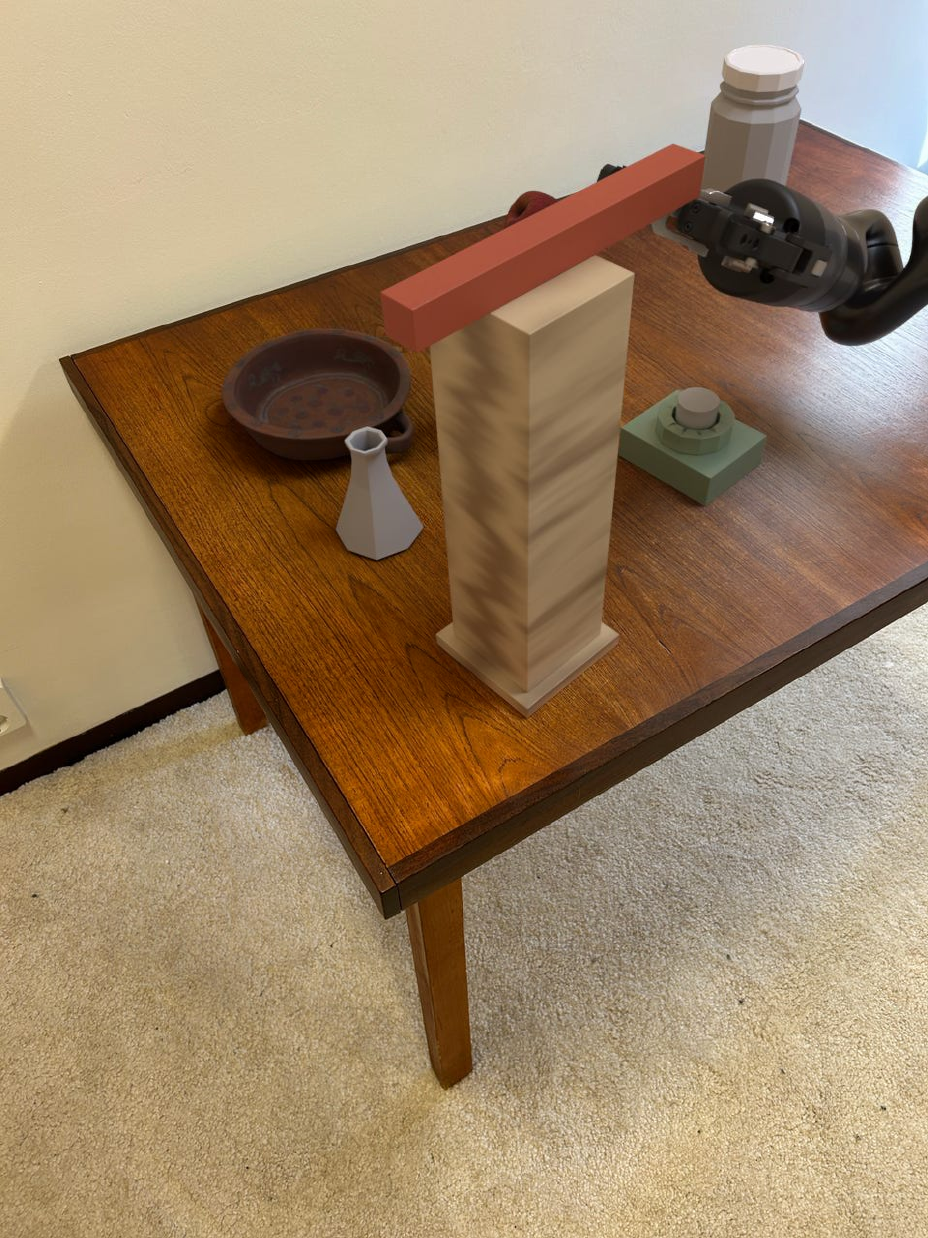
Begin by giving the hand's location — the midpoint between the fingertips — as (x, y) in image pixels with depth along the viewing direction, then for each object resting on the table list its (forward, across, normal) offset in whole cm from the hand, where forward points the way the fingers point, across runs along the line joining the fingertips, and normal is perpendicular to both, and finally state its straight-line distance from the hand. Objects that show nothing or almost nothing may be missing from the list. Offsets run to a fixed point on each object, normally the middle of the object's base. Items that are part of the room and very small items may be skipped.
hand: (656, 205), depth 56 cm
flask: (-7, +18, -32) cm, 37 cm away
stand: (-6, 0, -32) cm, 33 cm away
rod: (+7, 0, -4) cm, 8 cm away
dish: (-12, +34, -29) cm, 46 cm away
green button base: (-29, +5, -19) cm, 35 cm away
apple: (-43, +40, -11) cm, 60 cm away
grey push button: (-27, +5, -15) cm, 31 cm away
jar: (-63, +29, 0) cm, 69 cm away
